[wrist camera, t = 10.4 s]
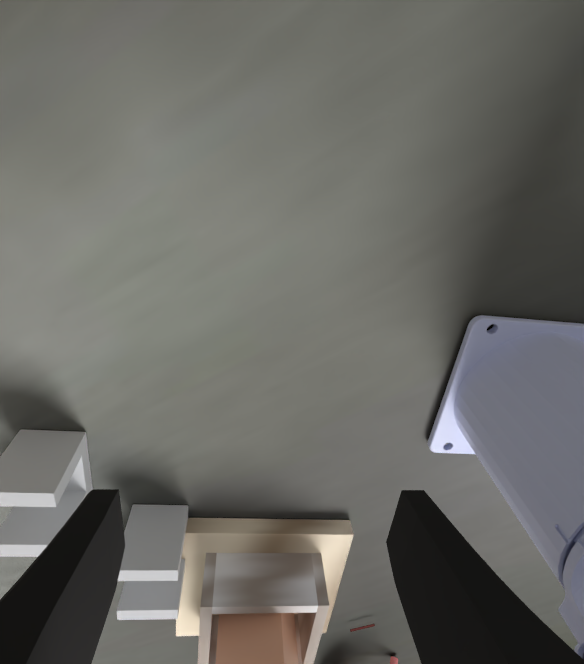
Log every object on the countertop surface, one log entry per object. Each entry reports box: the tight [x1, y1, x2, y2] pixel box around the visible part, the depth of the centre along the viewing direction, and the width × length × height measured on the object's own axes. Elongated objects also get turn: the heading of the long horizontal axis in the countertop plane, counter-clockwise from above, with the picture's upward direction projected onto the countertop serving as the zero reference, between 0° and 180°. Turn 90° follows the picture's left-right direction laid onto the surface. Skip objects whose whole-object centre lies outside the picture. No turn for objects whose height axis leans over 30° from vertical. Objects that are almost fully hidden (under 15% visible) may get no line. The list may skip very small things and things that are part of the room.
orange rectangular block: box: [216, 613, 298, 664], centre depth 23 cm, size 4×4×6 cm
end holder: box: [176, 518, 353, 664], centre depth 25 cm, size 10×10×4 cm
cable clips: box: [0, 429, 188, 620], centre depth 21 cm, size 8×9×4 cm
